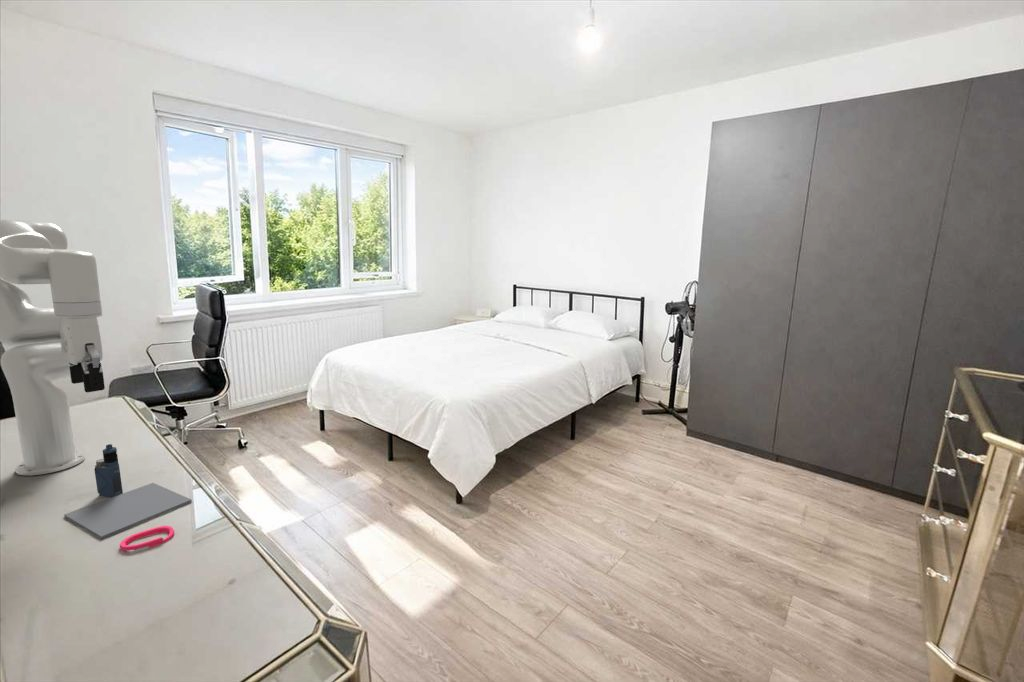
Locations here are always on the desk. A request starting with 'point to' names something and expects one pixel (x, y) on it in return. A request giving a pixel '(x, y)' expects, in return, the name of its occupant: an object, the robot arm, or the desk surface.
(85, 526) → the mat
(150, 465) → the desk surface
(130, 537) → the fitness band
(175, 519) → the desk surface
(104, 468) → the vaping device
